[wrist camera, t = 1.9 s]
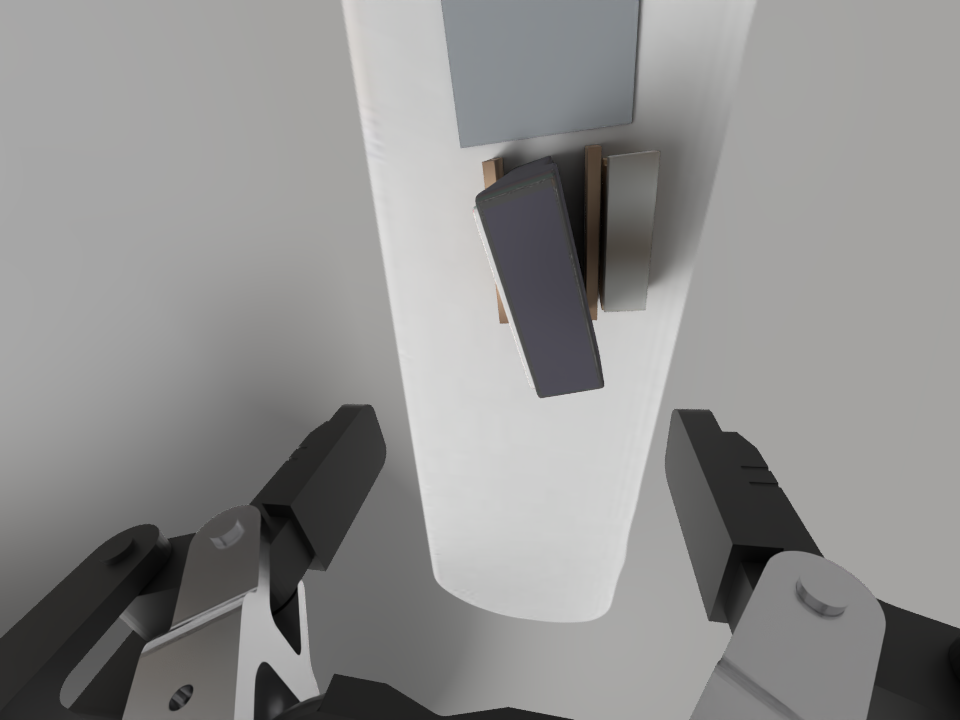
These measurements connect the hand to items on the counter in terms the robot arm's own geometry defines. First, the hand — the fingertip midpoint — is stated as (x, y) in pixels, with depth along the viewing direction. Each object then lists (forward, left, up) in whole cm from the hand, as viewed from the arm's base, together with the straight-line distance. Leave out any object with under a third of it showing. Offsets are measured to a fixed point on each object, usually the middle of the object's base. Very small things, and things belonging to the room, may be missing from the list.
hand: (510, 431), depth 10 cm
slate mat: (-11, 0, -24) cm, 27 cm away
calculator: (0, 0, -24) cm, 24 cm away
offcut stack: (0, +6, -24) cm, 25 cm away
